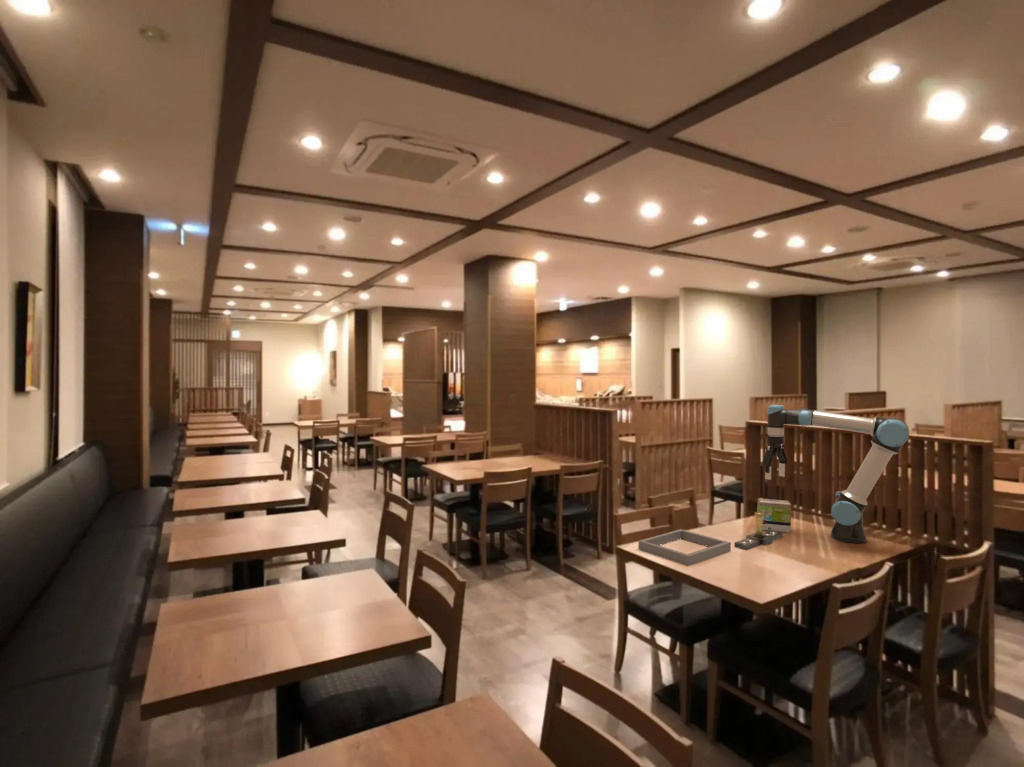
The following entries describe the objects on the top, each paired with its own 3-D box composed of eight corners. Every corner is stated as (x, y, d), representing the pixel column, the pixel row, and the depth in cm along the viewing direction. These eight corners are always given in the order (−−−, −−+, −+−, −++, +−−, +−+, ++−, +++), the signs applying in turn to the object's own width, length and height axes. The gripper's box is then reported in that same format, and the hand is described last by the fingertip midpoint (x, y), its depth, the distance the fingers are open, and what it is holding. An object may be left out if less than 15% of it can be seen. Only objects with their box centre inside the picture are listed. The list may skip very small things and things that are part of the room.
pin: (765, 542, 272) (765, 513, 271) (761, 543, 269) (761, 514, 269) (757, 539, 275) (757, 511, 275) (752, 541, 272) (753, 512, 272)
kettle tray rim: (730, 551, 258) (730, 542, 258) (688, 565, 238) (688, 556, 238) (680, 537, 279) (680, 529, 279) (638, 549, 260) (638, 540, 260)
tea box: (759, 530, 291) (759, 502, 291) (756, 525, 301) (757, 497, 301) (791, 533, 287) (791, 504, 287) (787, 527, 297) (788, 499, 296)
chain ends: (786, 537, 279) (786, 532, 278) (749, 550, 258) (749, 545, 258) (767, 533, 286) (767, 528, 286) (731, 545, 266) (731, 540, 266)
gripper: (780, 433, 294) (780, 473, 294) (755, 436, 279) (754, 479, 279) (795, 434, 288) (794, 476, 289) (770, 438, 273) (769, 481, 273)
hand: (775, 477), depth 284 cm, fingers open, 13 cm apart
